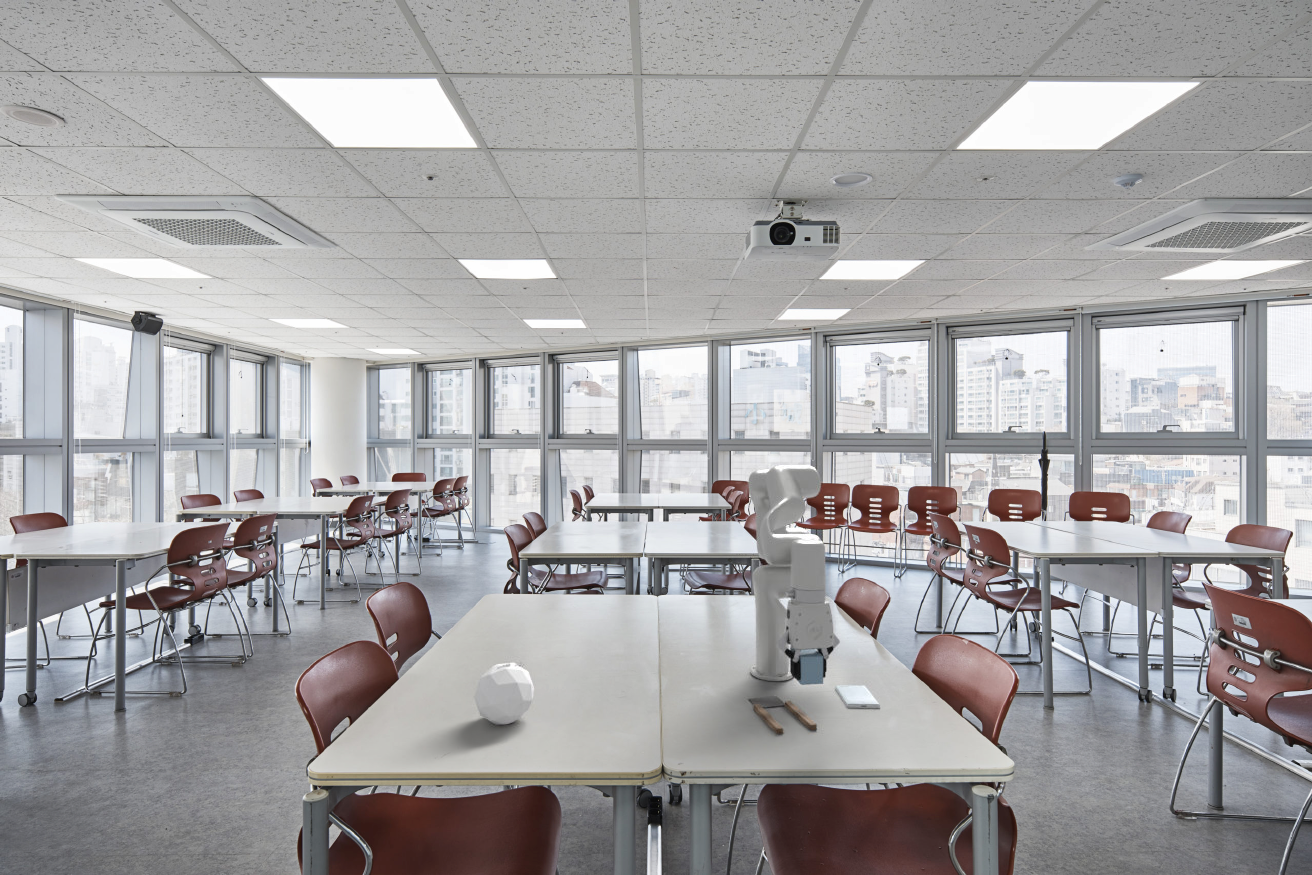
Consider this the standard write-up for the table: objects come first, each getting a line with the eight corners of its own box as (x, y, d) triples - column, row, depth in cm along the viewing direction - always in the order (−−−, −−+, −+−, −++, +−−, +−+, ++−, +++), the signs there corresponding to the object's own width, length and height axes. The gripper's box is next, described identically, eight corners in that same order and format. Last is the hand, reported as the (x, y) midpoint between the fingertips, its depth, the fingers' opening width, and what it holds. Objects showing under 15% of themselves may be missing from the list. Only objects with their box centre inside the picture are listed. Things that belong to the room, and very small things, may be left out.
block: (793, 676, 139) (793, 649, 139) (814, 675, 140) (814, 648, 140) (801, 684, 134) (801, 657, 134) (823, 683, 135) (823, 656, 135)
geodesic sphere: (522, 676, 161) (494, 640, 155) (558, 689, 152) (530, 652, 146) (483, 727, 152) (452, 691, 145) (519, 744, 143) (488, 706, 136)
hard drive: (835, 684, 168) (847, 703, 156) (865, 685, 168) (880, 703, 155) (835, 691, 168) (847, 709, 156) (865, 691, 168) (880, 710, 155)
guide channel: (744, 700, 160) (744, 695, 160) (780, 696, 163) (780, 691, 163) (777, 733, 141) (777, 728, 141) (816, 729, 143) (816, 724, 143)
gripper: (779, 601, 132) (780, 686, 131) (851, 596, 136) (852, 679, 135) (765, 593, 139) (766, 674, 139) (834, 589, 143) (834, 667, 143)
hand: (808, 675), depth 137 cm, fingers closed on block, 5 cm apart
